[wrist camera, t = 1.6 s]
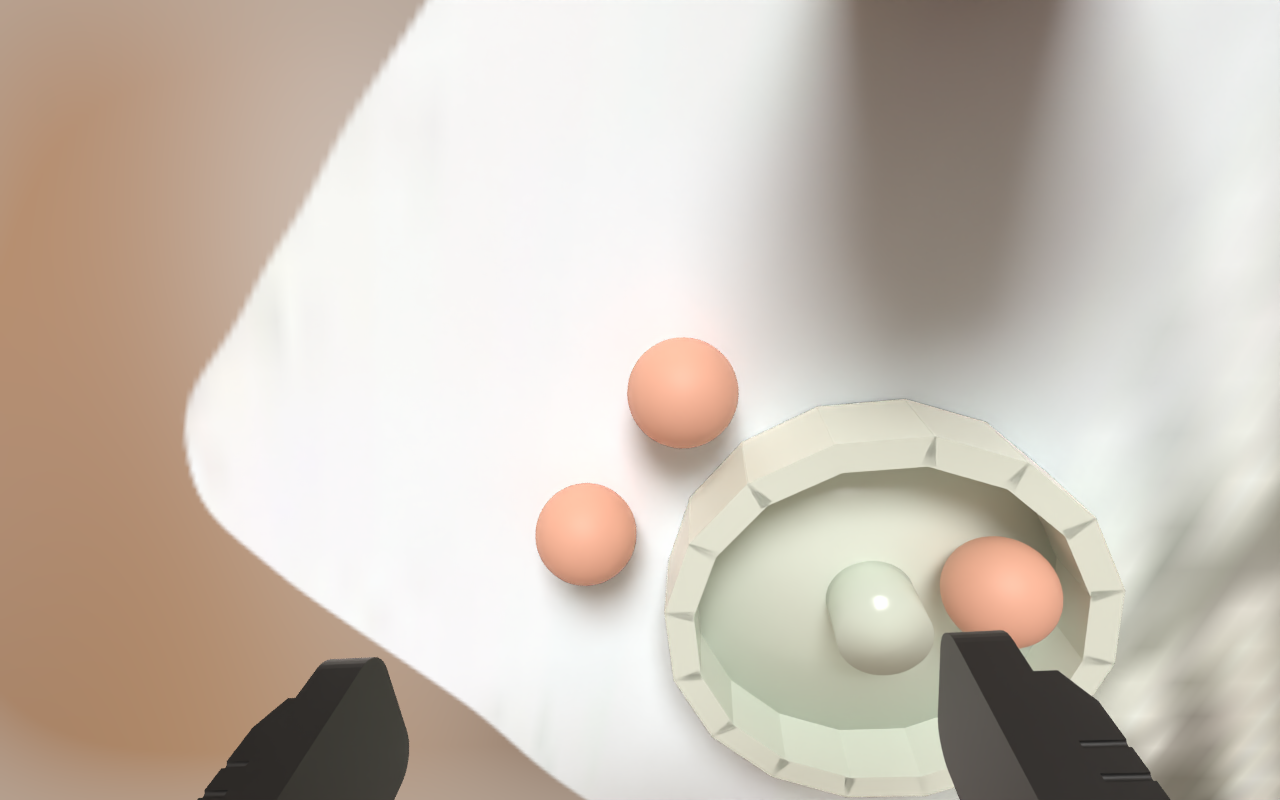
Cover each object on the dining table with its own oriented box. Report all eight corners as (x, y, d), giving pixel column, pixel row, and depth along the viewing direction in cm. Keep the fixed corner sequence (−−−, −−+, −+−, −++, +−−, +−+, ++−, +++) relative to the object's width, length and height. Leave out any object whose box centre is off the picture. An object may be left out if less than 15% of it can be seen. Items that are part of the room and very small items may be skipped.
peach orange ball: (634, 462, 25) (623, 512, 21) (645, 545, 26) (637, 604, 22) (539, 470, 25) (515, 519, 22) (556, 551, 26) (534, 610, 23)
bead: (731, 320, 22) (736, 350, 19) (739, 418, 24) (745, 462, 20) (626, 331, 23) (613, 362, 19) (639, 426, 24) (629, 471, 21)
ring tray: (1089, 382, 22) (1150, 418, 19) (1052, 722, 27) (1095, 793, 24) (649, 421, 24) (642, 459, 21) (691, 732, 29) (690, 799, 26)
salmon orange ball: (1035, 512, 23) (1093, 574, 19) (1027, 599, 24) (1080, 671, 21) (926, 519, 23) (964, 581, 20) (924, 604, 24) (960, 676, 21)
